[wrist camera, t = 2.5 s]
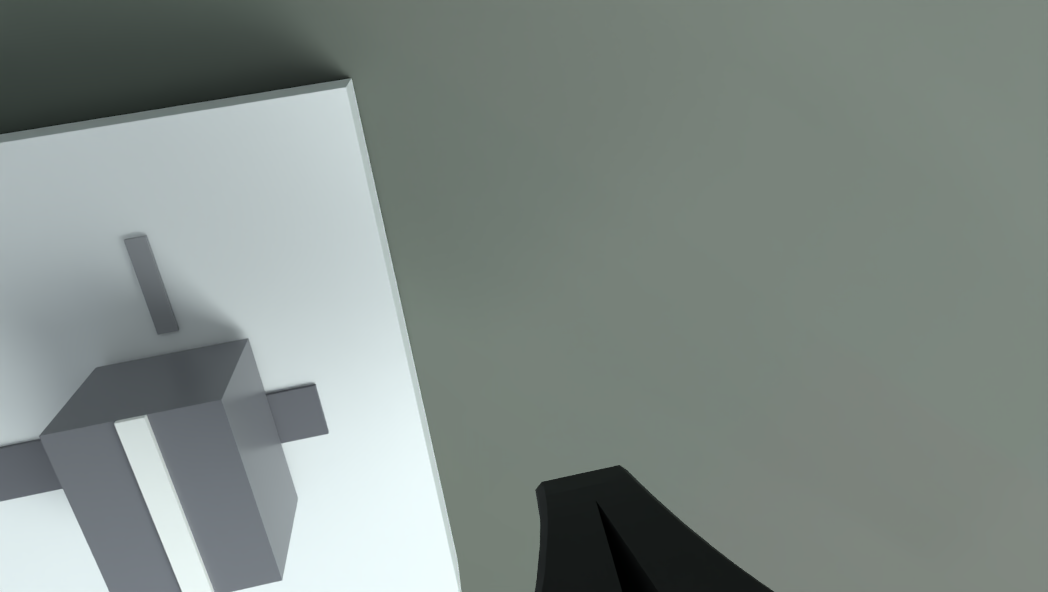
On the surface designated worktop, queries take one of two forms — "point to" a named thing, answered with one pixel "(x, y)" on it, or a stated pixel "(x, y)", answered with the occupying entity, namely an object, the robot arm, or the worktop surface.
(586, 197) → the worktop surface
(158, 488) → the fader tab
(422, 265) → the worktop surface
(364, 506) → the fader console
